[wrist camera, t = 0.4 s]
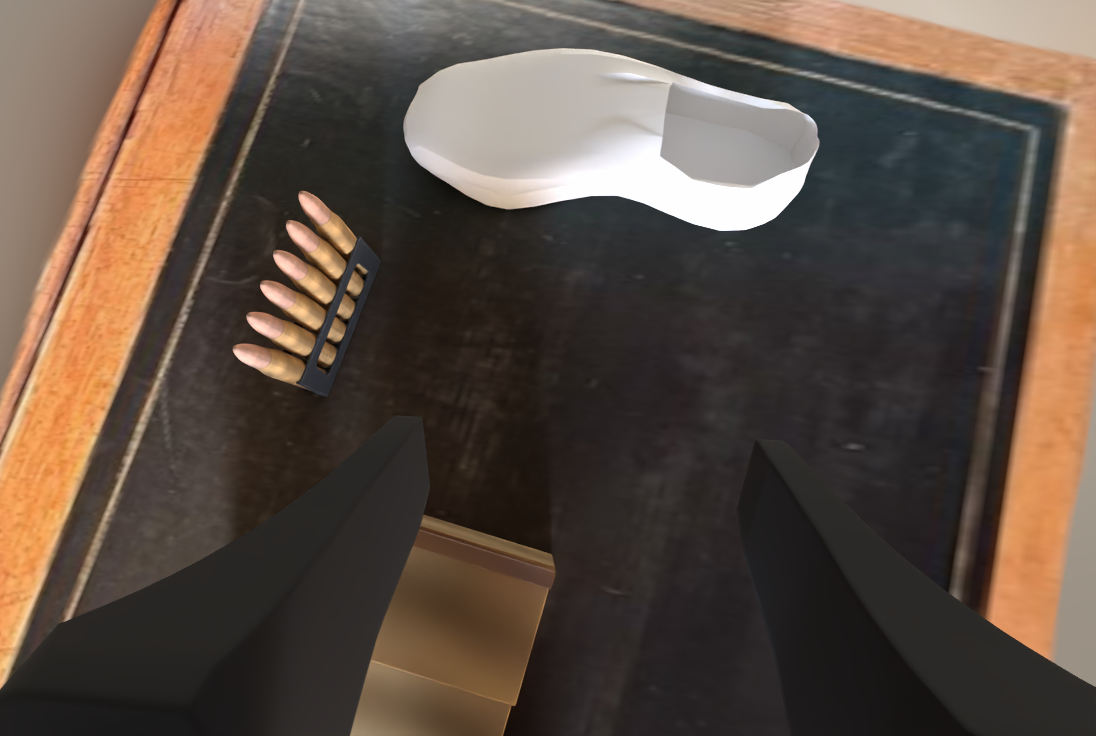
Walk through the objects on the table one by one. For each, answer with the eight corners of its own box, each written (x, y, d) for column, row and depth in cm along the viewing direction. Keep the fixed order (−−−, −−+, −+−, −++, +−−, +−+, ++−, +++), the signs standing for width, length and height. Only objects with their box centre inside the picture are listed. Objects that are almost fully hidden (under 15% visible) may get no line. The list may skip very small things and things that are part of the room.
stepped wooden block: (484, 787, 37) (474, 855, 31) (321, 735, 38) (277, 791, 31) (552, 554, 40) (556, 571, 33) (398, 506, 40) (372, 515, 34)
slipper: (785, 140, 45) (843, 66, 37) (768, 266, 43) (824, 219, 35) (429, 72, 45) (405, -17, 37) (398, 195, 44) (366, 132, 35)
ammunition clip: (358, 251, 43) (291, 171, 31) (381, 259, 43) (324, 181, 31) (302, 389, 41) (209, 360, 29) (327, 397, 41) (244, 371, 29)
